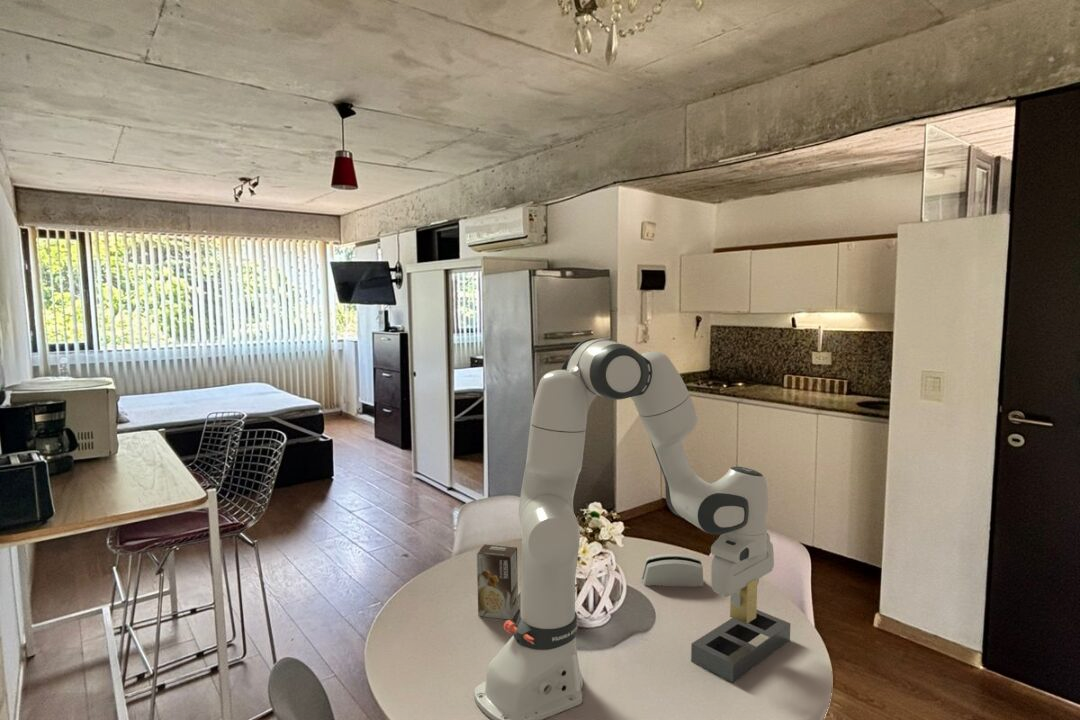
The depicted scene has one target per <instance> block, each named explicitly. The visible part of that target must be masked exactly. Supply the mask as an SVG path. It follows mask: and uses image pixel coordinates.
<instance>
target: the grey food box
mask: <svg viewBox="0 0 1080 720" xmlns="http://www.w3.org/2000/svg"><path fill="white" fill-rule="evenodd" d="M476 572H477V573H476V577H477V578H476V579H477V582H476V583H477V614H478V616H479V617H486V618H494V619H503V620H510V621H513V619H514V618H515V616H516V614H517V612H518V610H519V589H518V587H519V585H518V584H519V581H518V579H519V578H518V547H517V546H516V547H514V546H507V545H506V546H505V545H497V544H496V545H493V544H483V545H482V547H480V549H479V550H478V552H477V554H476Z"/></svg>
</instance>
